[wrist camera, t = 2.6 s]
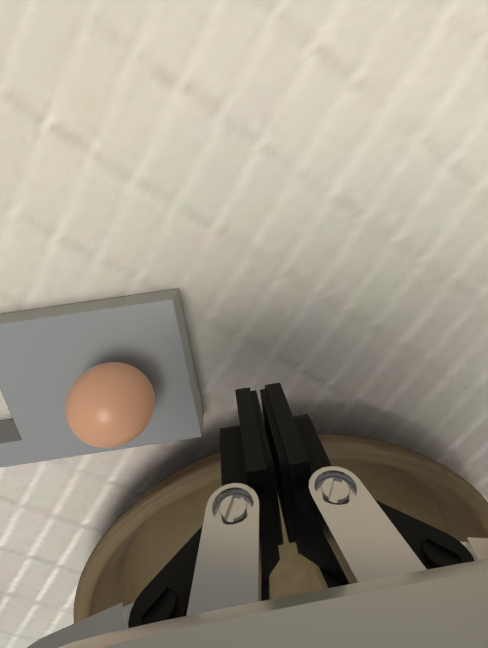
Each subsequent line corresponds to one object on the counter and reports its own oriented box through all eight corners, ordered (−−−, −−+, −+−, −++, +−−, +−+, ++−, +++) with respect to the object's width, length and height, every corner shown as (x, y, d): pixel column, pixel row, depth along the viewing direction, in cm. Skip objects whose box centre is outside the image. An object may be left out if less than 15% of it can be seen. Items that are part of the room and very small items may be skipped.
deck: (203, 412, 21) (201, 436, 19) (-41, 448, 21) (-75, 478, 19) (178, 288, 19) (172, 299, 16) (-104, 328, 18) (-152, 345, 16)
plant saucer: (543, 516, 27) (604, 573, 23) (312, 704, 34) (325, 775, 30) (246, 318, 20) (254, 347, 15) (27, 610, 27) (-10, 687, 22)
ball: (168, 408, 18) (154, 459, 14) (97, 419, 18) (65, 473, 14) (152, 343, 17) (133, 381, 13) (75, 355, 17) (33, 396, 13)
